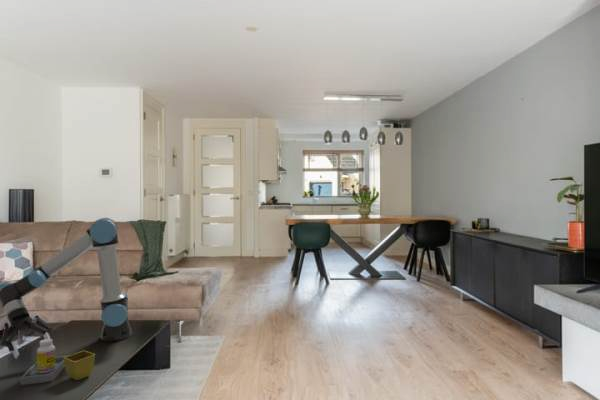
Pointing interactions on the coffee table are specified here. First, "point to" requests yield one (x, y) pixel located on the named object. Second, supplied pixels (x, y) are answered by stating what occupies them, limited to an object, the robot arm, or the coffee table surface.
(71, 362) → the flower pot
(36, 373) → the tray
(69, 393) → the coffee table surface
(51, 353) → the supplement bottle
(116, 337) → the robot arm
